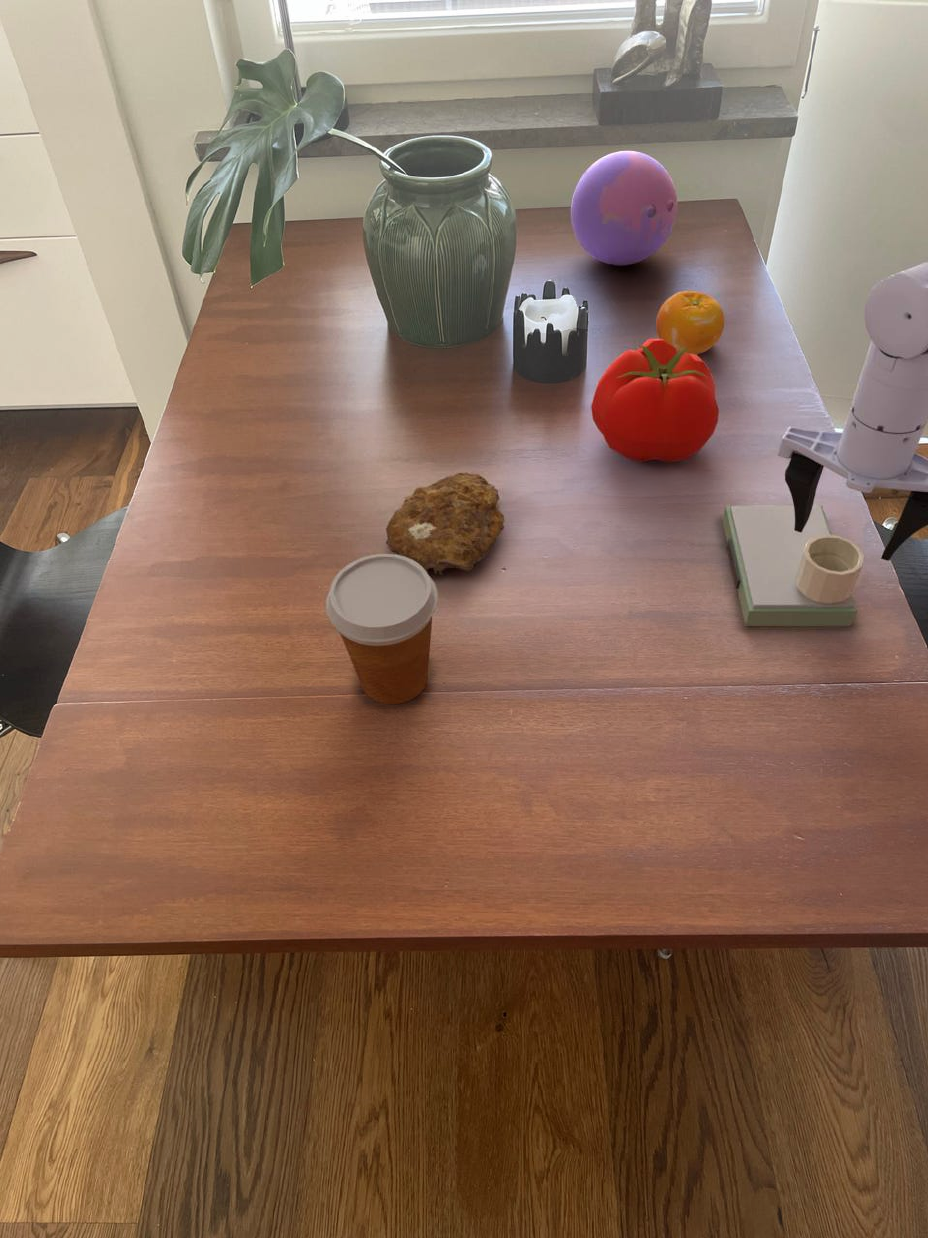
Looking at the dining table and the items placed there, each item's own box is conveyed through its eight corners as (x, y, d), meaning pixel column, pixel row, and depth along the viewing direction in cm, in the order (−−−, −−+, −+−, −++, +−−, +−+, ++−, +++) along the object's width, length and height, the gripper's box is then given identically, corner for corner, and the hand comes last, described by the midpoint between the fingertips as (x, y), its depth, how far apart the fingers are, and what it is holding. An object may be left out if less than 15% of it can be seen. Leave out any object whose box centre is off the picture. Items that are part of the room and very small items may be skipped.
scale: (851, 626, 88) (858, 607, 86) (742, 626, 89) (747, 608, 87) (817, 520, 98) (823, 502, 96) (719, 521, 99) (723, 502, 97)
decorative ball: (621, 295, 131) (630, 188, 120) (548, 259, 139) (550, 155, 128) (691, 259, 137) (706, 154, 126) (617, 226, 145) (625, 124, 134)
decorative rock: (429, 482, 106) (374, 573, 97) (424, 454, 103) (367, 545, 94) (523, 498, 102) (475, 594, 93) (521, 469, 99) (471, 566, 90)
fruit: (689, 352, 114) (700, 284, 112) (638, 350, 120) (648, 285, 119) (731, 360, 119) (742, 295, 117) (679, 357, 126) (689, 296, 124)
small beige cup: (862, 588, 88) (875, 555, 84) (827, 615, 86) (839, 582, 82) (817, 560, 90) (828, 526, 87) (782, 585, 88) (792, 552, 85)
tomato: (715, 483, 103) (733, 394, 94) (587, 479, 104) (593, 390, 95) (708, 413, 111) (724, 325, 103) (589, 409, 113) (595, 322, 104)
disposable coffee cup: (325, 700, 85) (302, 612, 76) (373, 627, 90) (357, 538, 82) (417, 732, 82) (405, 645, 73) (461, 656, 88) (455, 566, 79)
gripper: (781, 413, 73) (749, 539, 83) (976, 467, 67) (917, 595, 77) (809, 368, 77) (775, 494, 87) (995, 416, 71) (936, 544, 81)
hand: (843, 538), depth 82 cm, fingers open, 7 cm apart
